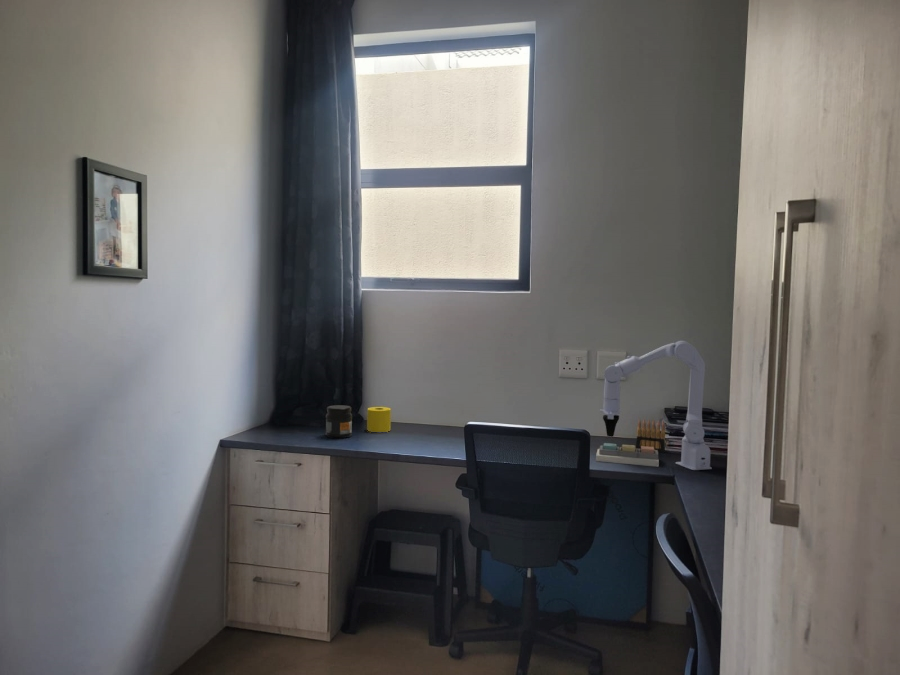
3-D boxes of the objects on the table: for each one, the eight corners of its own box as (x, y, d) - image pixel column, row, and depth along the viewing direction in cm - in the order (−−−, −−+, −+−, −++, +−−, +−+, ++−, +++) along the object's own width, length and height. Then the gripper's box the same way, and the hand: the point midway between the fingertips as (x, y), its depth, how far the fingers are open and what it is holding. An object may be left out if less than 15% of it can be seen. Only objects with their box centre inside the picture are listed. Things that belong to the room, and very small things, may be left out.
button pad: (657, 459, 223) (657, 449, 223) (658, 466, 212) (659, 455, 212) (597, 454, 229) (597, 444, 229) (595, 461, 218) (596, 450, 218)
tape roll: (392, 432, 258) (392, 410, 258) (368, 433, 256) (368, 411, 256) (388, 428, 268) (389, 406, 268) (366, 428, 266) (366, 407, 265)
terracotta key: (653, 452, 220) (653, 447, 220) (654, 454, 216) (654, 449, 216) (640, 451, 221) (641, 446, 221) (641, 453, 217) (641, 448, 217)
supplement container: (356, 436, 249) (357, 407, 248) (334, 440, 242) (334, 410, 241) (342, 432, 257) (343, 404, 256) (320, 435, 250) (321, 406, 249)
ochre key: (634, 450, 222) (634, 445, 222) (634, 453, 218) (635, 448, 217) (622, 449, 223) (622, 444, 223) (622, 452, 219) (622, 447, 219)
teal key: (616, 448, 224) (616, 444, 224) (615, 451, 219) (616, 446, 219) (603, 447, 225) (604, 442, 225) (603, 450, 221) (603, 445, 221)
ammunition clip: (635, 449, 239) (636, 418, 238) (636, 448, 240) (637, 418, 240) (664, 452, 234) (665, 421, 234) (665, 451, 236) (666, 420, 235)
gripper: (601, 395, 229) (599, 431, 230) (599, 400, 215) (598, 438, 216) (620, 396, 227) (619, 432, 228) (620, 401, 213) (618, 440, 214)
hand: (610, 435), depth 222 cm, fingers closed
